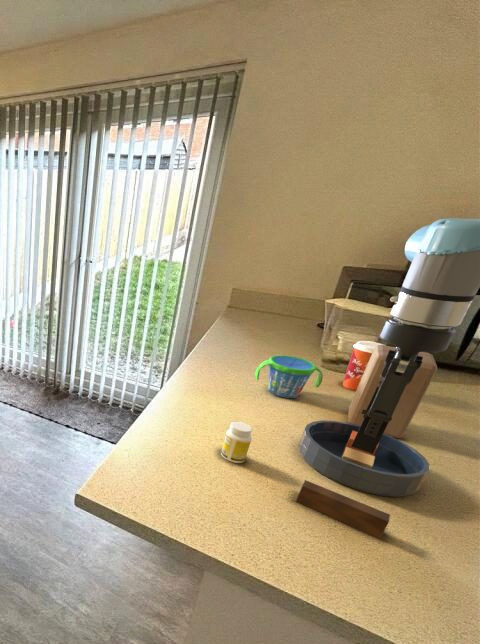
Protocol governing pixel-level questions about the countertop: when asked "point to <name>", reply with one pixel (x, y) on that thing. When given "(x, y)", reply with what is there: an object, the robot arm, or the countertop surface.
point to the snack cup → (288, 375)
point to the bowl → (382, 479)
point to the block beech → (358, 457)
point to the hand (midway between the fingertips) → (367, 433)
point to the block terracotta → (356, 448)
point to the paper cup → (358, 363)
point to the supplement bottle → (237, 442)
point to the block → (408, 398)
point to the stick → (343, 509)
